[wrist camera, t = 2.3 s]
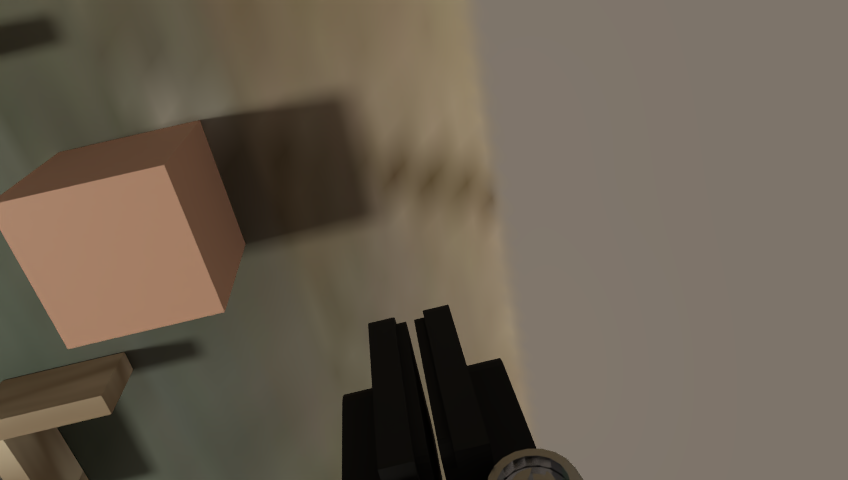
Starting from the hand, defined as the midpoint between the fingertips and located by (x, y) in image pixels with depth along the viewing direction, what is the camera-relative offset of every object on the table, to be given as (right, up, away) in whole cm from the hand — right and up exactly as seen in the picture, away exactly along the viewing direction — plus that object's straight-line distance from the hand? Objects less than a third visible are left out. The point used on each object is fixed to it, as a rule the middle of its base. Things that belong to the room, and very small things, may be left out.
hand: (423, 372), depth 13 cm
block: (-11, +4, +12) cm, 17 cm away
